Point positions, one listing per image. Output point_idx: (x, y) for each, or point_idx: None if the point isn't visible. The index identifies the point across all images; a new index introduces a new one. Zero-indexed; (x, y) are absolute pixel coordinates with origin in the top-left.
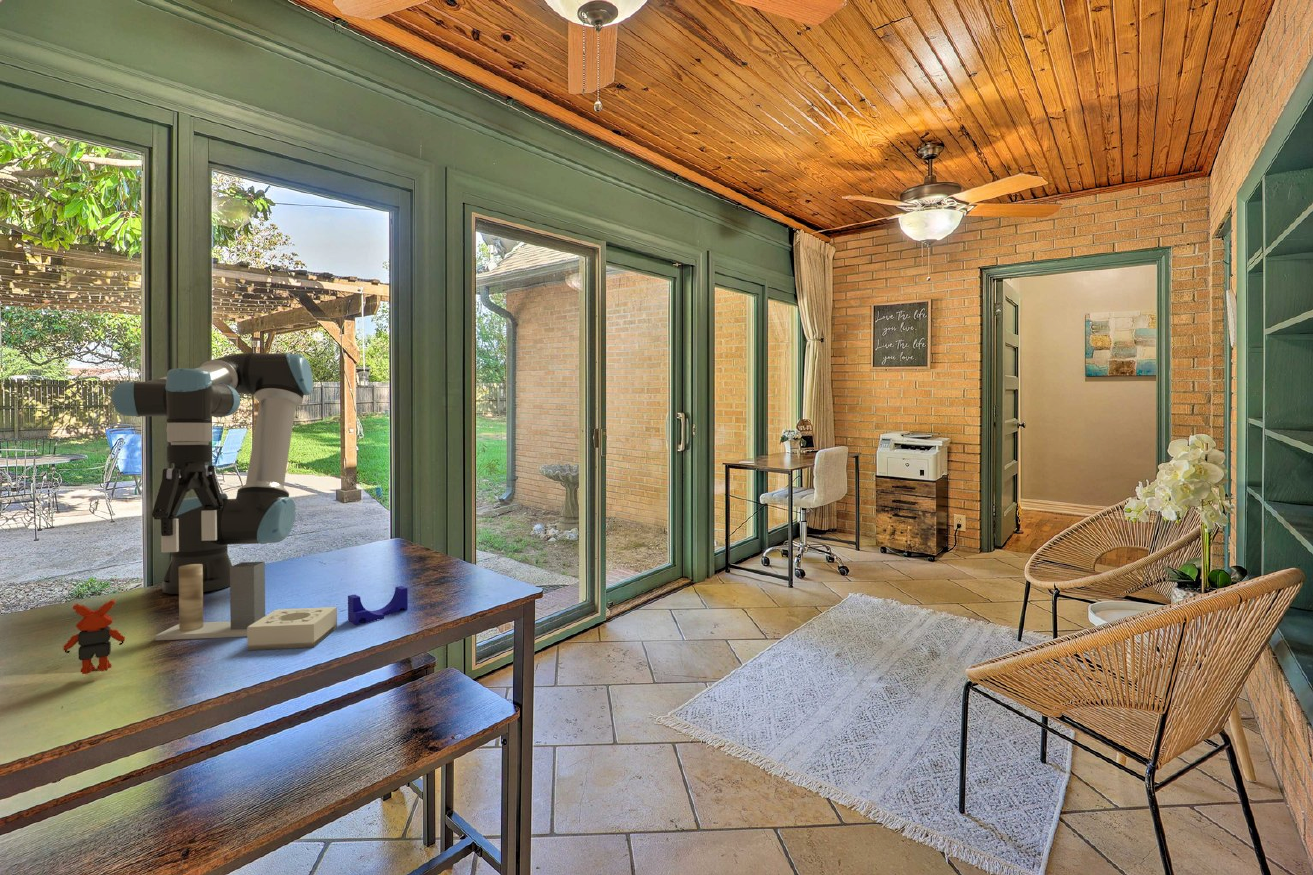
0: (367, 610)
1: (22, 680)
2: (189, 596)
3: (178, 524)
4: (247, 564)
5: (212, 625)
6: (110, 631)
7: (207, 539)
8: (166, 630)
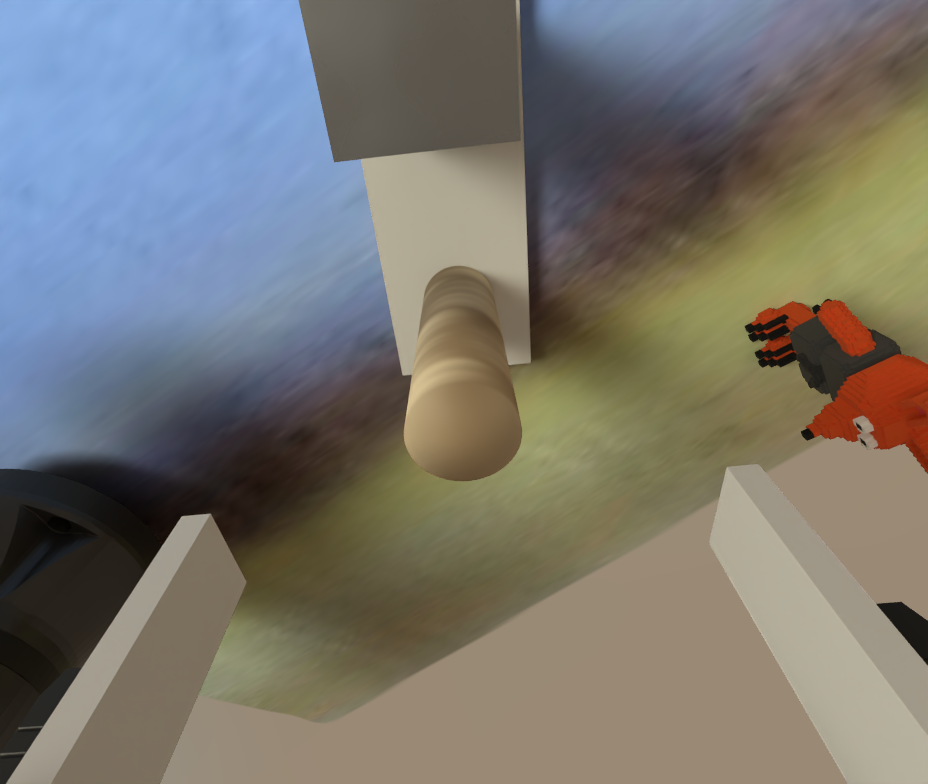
0: None
1: (797, 439)
2: (500, 337)
3: (906, 702)
4: (422, 29)
5: (426, 244)
6: (873, 342)
7: (228, 561)
8: None
